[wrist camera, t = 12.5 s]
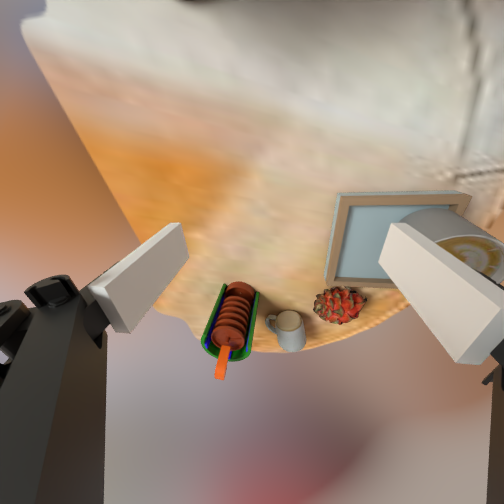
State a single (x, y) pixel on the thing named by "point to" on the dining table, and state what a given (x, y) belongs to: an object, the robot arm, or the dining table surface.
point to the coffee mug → (460, 240)
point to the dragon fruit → (339, 305)
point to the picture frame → (374, 231)
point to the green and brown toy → (231, 326)
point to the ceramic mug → (288, 330)
